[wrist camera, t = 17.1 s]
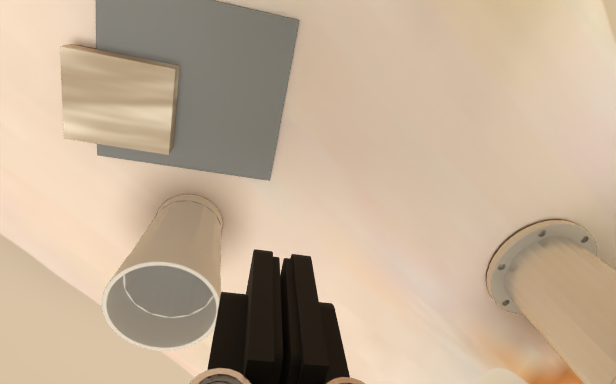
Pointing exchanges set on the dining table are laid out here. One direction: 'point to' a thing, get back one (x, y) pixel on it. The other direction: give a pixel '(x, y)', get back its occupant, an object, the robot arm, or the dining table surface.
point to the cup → (169, 278)
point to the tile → (118, 99)
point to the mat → (209, 78)
